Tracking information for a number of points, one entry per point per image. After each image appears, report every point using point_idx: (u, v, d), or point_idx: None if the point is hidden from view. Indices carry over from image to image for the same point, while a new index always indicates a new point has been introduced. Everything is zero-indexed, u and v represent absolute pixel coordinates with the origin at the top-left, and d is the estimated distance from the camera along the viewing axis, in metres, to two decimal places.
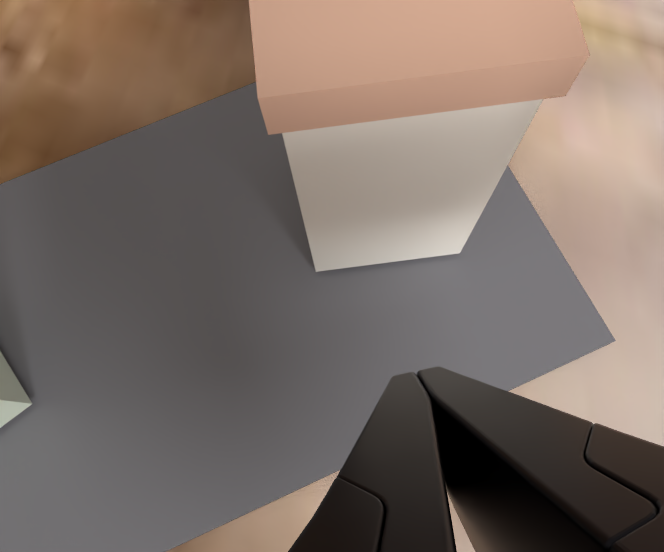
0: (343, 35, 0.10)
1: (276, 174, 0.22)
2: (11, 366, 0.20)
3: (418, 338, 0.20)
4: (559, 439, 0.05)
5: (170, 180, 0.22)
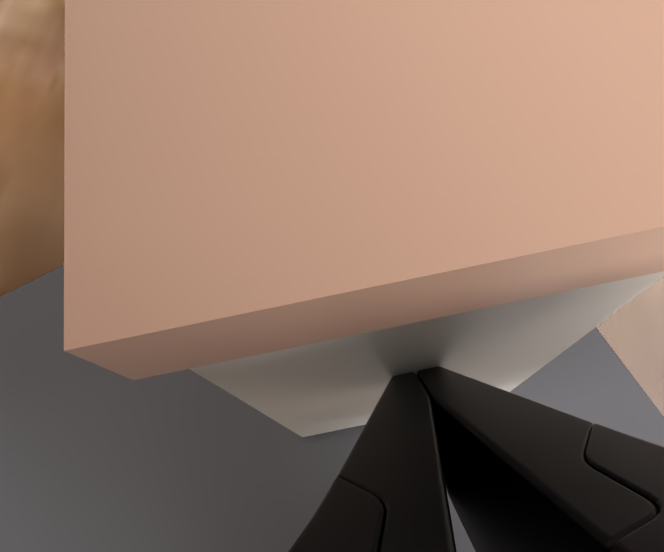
0: (266, 177, 0.04)
1: None
2: None
3: None
4: (559, 439, 0.05)
5: None
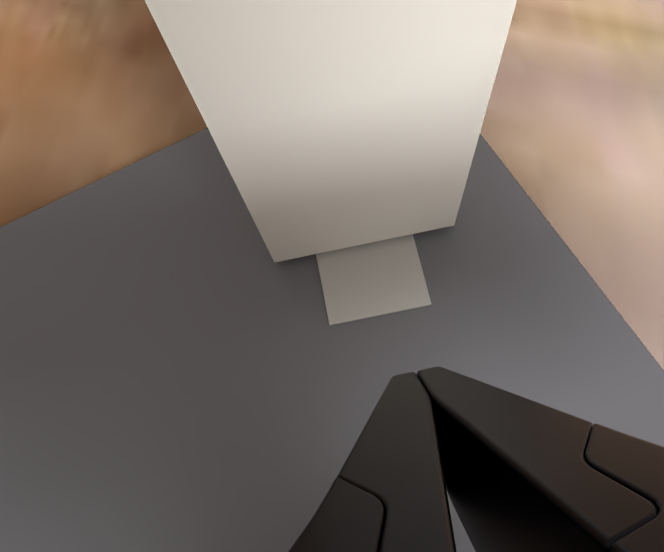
0: None
1: (235, 244, 0.17)
2: None
3: None
4: (559, 439, 0.05)
5: (99, 263, 0.17)
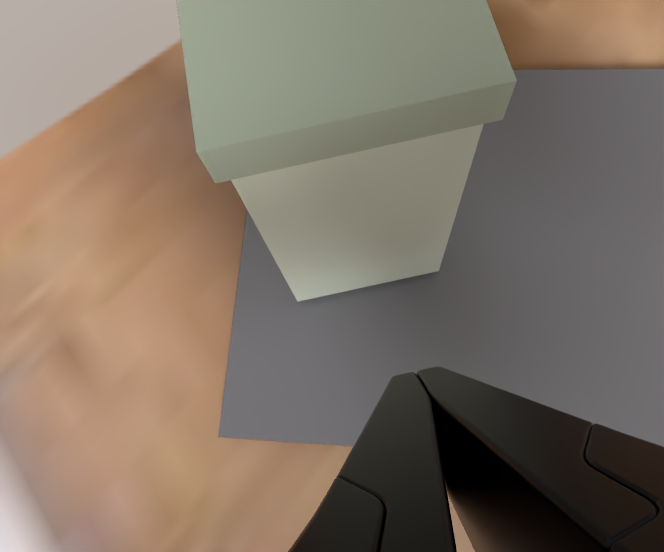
0: None
1: None
2: None
3: None
4: (559, 439, 0.05)
5: (622, 128, 0.22)
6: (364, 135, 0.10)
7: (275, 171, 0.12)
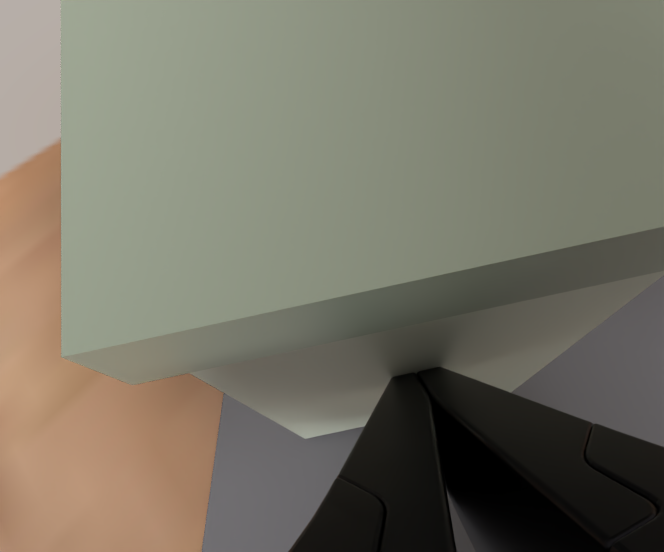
0: None
1: None
2: None
3: None
4: (559, 439, 0.05)
5: None
6: (463, 297, 0.05)
7: None
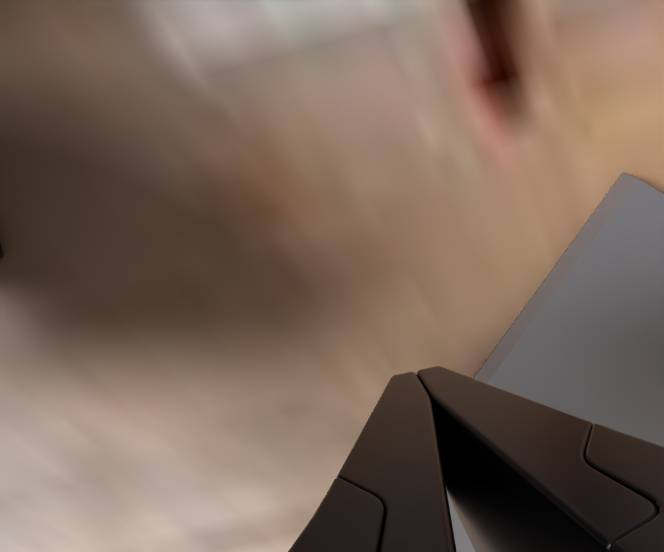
0: None
1: None
2: None
3: None
4: (559, 439, 0.05)
5: None
6: None
7: None
